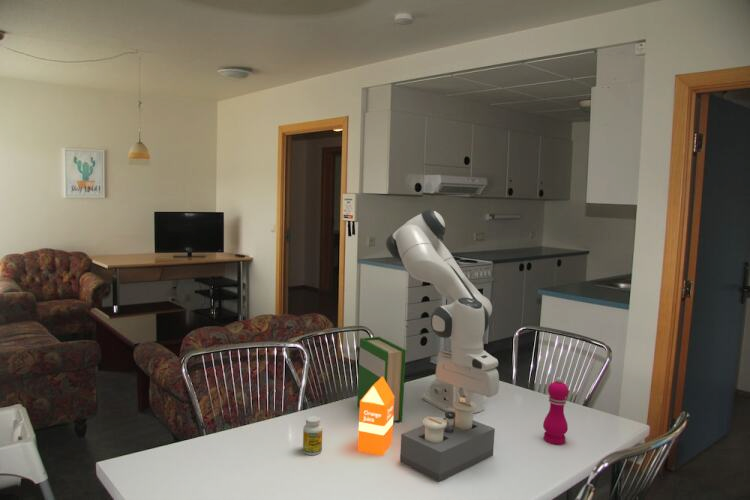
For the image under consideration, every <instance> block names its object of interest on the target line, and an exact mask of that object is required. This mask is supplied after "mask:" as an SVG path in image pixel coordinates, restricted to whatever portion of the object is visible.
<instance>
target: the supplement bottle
mask: <svg viewBox="0 0 750 500" xmlns="http://www.w3.org/2000/svg"><path fill="white" fill-rule="evenodd" d="M302 430H303V432H302V452H303V453H304V454H305V455H308V456H316V455H318V454H321V452H322V451H323V450H322V449H323V426H322V424H321V418H320V417H319V416H316V415H311V416H307V417H306V418H305V425H304V426H303V429H302Z"/></svg>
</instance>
